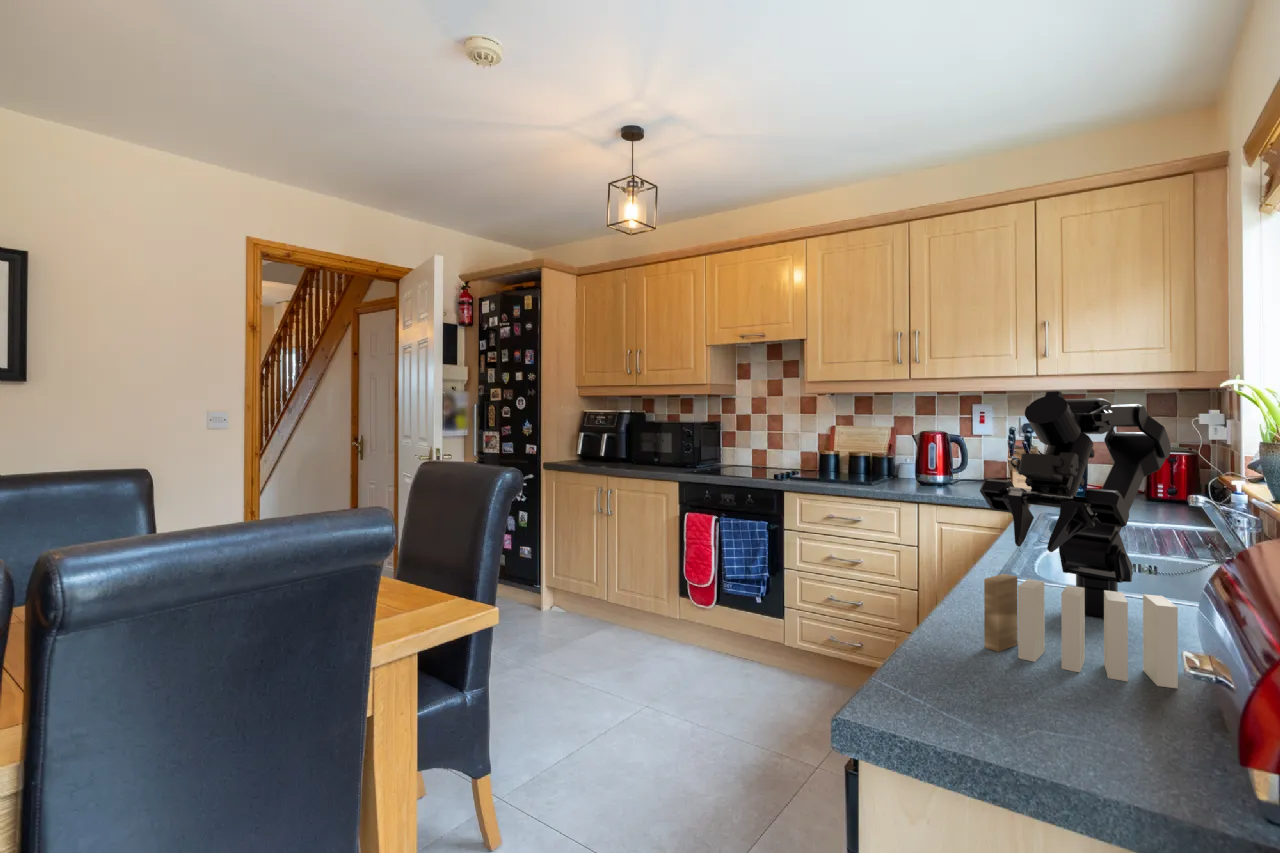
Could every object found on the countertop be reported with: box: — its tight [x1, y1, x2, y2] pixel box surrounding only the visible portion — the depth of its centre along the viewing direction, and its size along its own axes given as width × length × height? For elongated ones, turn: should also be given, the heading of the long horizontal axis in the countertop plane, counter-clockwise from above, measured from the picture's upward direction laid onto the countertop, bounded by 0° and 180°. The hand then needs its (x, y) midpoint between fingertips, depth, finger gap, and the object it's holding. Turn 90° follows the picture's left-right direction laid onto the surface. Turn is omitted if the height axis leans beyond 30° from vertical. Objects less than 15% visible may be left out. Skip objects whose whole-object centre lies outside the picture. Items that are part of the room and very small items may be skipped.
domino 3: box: [1060, 585, 1086, 673], centre depth 83 cm, size 2×5×10 cm, turn 139°
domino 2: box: [1017, 578, 1046, 663], centre depth 87 cm, size 2×5×10 cm, turn 134°
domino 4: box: [1103, 590, 1129, 682], centre depth 80 cm, size 2×5×10 cm, turn 148°
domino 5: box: [1142, 593, 1179, 689], centre depth 78 cm, size 2×5×10 cm, turn 156°
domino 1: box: [983, 573, 1018, 653], centre depth 90 cm, size 2×5×10 cm, turn 121°
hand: (1033, 547), depth 92 cm, fingers open, 4 cm apart
